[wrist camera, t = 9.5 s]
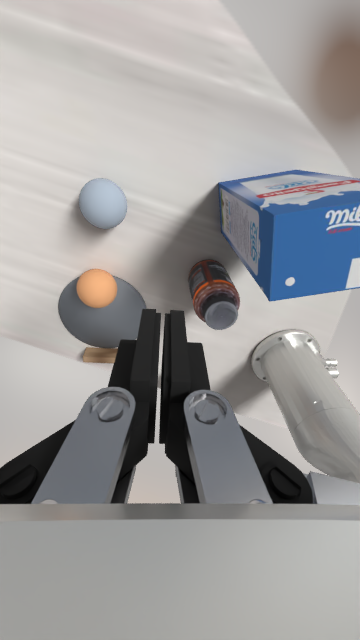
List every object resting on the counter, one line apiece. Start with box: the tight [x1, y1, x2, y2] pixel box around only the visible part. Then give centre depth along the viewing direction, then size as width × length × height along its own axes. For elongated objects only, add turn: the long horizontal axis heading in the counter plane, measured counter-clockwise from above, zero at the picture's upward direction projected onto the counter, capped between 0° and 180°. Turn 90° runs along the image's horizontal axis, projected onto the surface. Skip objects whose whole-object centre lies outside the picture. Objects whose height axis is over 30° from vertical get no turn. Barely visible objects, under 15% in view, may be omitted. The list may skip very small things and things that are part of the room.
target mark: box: [59, 276, 146, 348], centre depth 42 cm, size 14×14×1 cm
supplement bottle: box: [189, 260, 240, 330], centre depth 35 cm, size 6×6×11 cm
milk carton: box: [218, 170, 360, 301], centre depth 26 cm, size 10×6×20 cm, turn 98°
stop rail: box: [83, 347, 118, 363], centre depth 46 cm, size 7×1×2 cm, turn 85°
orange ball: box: [77, 269, 117, 308], centre depth 37 cm, size 6×6×6 cm
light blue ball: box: [79, 178, 127, 229], centre depth 31 cm, size 6×6×6 cm
